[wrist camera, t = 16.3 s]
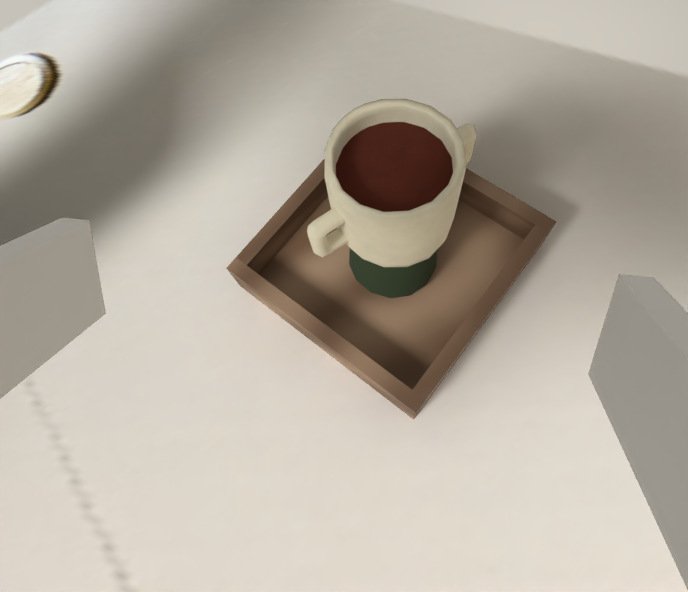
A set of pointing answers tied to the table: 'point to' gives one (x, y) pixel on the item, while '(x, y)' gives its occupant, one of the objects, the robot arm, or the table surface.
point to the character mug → (392, 192)
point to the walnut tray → (401, 312)
